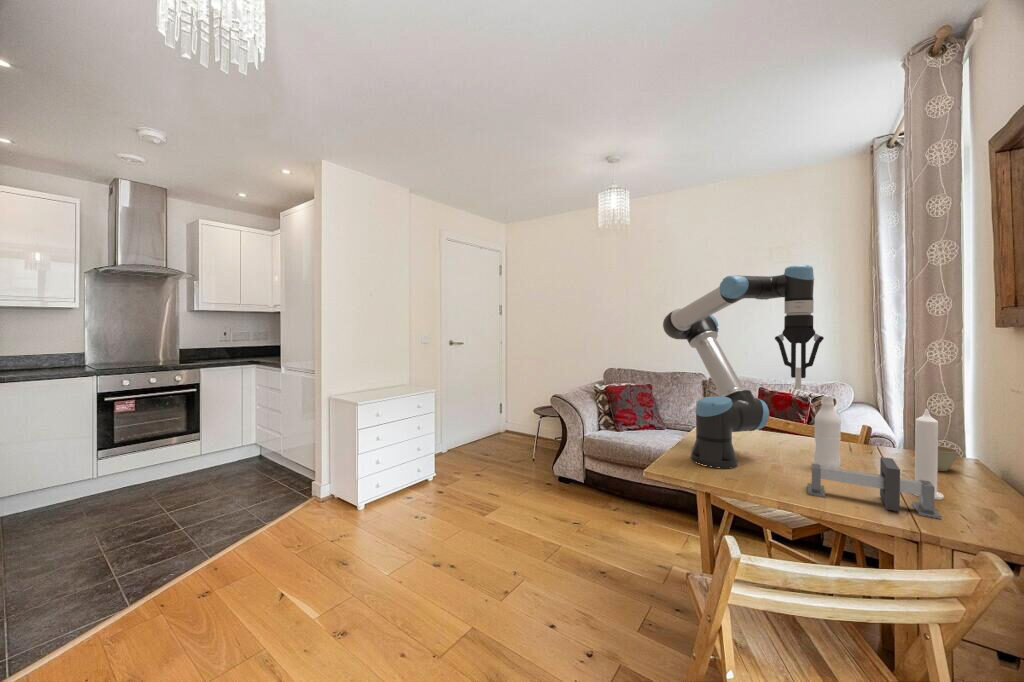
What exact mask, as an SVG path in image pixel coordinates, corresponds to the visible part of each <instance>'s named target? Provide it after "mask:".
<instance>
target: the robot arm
mask: <svg viewBox="0 0 1024 682" xmlns="http://www.w3.org/2000/svg"><path fill="white" fill-rule="evenodd" d="M814 282H815V277H814V267H813V266H812V265H808V264H801V265H800V264H799V265H792V266H788V267H786V268H784V272H783V274H780V275H771V276H766V275H765V276H763V275H742V274H741V275H740V274H737V275H736V274H735V275H727V276H726V277H724V278H723V279H722V281H721V282H720V284H719V286H718V287H716V288H715V289H713V290H711V291H709V292H708V293H706V294H704V295H703V296H701V297H699V298H697V299H696V300H694V301H693V302H691V303H689V304H687V305H686V306H684V307H682V308H675V309H674V310H672V311H671V312H669V313H668V314H667V315H666V316H665V317H664V318H663V323H662V327H663V331H664V333H665V334H666V335H667V336H668V337H669V338H671V339H674V340H686V341H687V342H688V344H689V346H690V347H691V348H694V349H695V350H696V351H697V354H698V355H699V357H700V359H701V361H702V363H703V365H704V367H705V369H706V370H707V373H708V374H709V376H710V378H711V380H712V381H713V384H714V385H715V388H716V390H717V392H718V393H719V395H718V396H717V395H716V396H705V397H702V398H699V400H697V402H696V406H695V407H696V408H695V422H696V424H695V426H696V427H695V435H696V436H695V441H694V445H693V447H692V449H691V452H690V460H691V459H692V460H693V461H695V462H697V463H700V464H703V465H707V466H712V467H720V468H719V469H723V468H726V469H731V468H730V467H734V468H736V467H738V456H737V454H736V450H735V449H734V445H733V440H732V439H733V433H739V432H755V431H757V430H761V429H763V428H765V426H766V425H767V424H768V422H769V418H770V410H769V408H768V407H769V406H768V405H767V404H766V402H765V401H764V400H762V399H760V398H758V397H754V395H753V393H752V391H751V390H750V389H747V388H744V386H743V384H742V382H741V380H740V379H739V377H738V375H737V374H736V372H735V370H734V368H733V367H732V365H731V363H730V362H729V359H728V358H727V356H726V354H725V352H724V350H723V349H722V347H721V345H720V343H719V342H718V340H717V339H718V337H719V336H718V334H719V333H718V332H719V322H718V320H717V318H716V317H715V316H713V315H714V314H716V313H718V312H719V311H722V310H723V309H725V308H727V307H729V306H731V305H733V304H735V303H737V302H739V301H741V300H744V299H756V300H766V301H767V300H770V299H778V298H783V299H784V308H783V309H784V310H783V311H784V314H785V316H783V317H784V327H783V331H782V333H781V334H778V335H777V336H775V337H774V340H775V341H776V342H777V344H778V347H779V350H780V354H781V357H782V360H783V364H784V366H787V367H789V368H790V377H791V378H794V379H795V381H794V382H795V383H794V384H795V387H794V388H795V389H796V390H797V389H800V390H801V389H802V379H806V376H807V374H806V373H807V372H806V371H807V370H806V369H807V368H810V367H813V365H814V362H815V359H816V356H817V353H818V349H819V346H820V344H821V343H822V341H823V340H824V336H821V335H819V334H818V333H816V330H815V329H814V315H813V313H814V285H815V283H814ZM784 338H786V340H787V341H788V342H789V343H790V361H789V358H788V355H787V351H786V348H785V344H784V342H783V341H784V340H785V339H784ZM812 338H813V340H814V341H813V342H814V343H813V347H812V350H811V353H810V356H809V359H808V362H807V356H806V355H807V352H806V351H807V344H808V342H809V341H810V340H811V339H812ZM797 344H800V367H797V364H796V363H797V357H796V356H797ZM692 460H691V461H692ZM693 461H692V462H693ZM735 466H736V467H735ZM712 467H711V468H712Z"/></svg>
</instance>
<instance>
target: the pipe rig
mask: <svg viewBox="0 0 1024 682" xmlns="http://www.w3.org/2000/svg"><path fill="white" fill-rule="evenodd" d="M821 480H827V481H834V482H840V483H845V484H850V485H856V486H857V485H858V486H863V487H868V488H869V487H870V488H875V489H879V490H880V489H885V475H880V474H878V473H872V472H865V471H859V470H851V469H847V468H833V467H826V466H820V465H819V464H815V463H811V483H809V482H807V485H806V486H807V495H810V496H815V497H820V498H826V492H825V491H826V489H825V485H822V484H821V482H822V481H821ZM934 489H935V487H934V486H933V485H932V484H931V482H930V481H925V480H919V481H918V480H915V479H910V478H905V477H900V493H905V494H910V495H913V494H916V495H919V496H918V501H912V502H911V505H912V506H913V508H914V510H915V509H916V510H915V511H916V514H917V515H918V514H919V515H918V516H920V515H922V516H921V517H925V516H927V517H926V518H931V517H933V518H932V519H936V518H938V519H937V520H942V515H941V514H940V513H939V511H938V510H937V508H936V507H935V499H934ZM916 495H915V496H916Z"/></svg>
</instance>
